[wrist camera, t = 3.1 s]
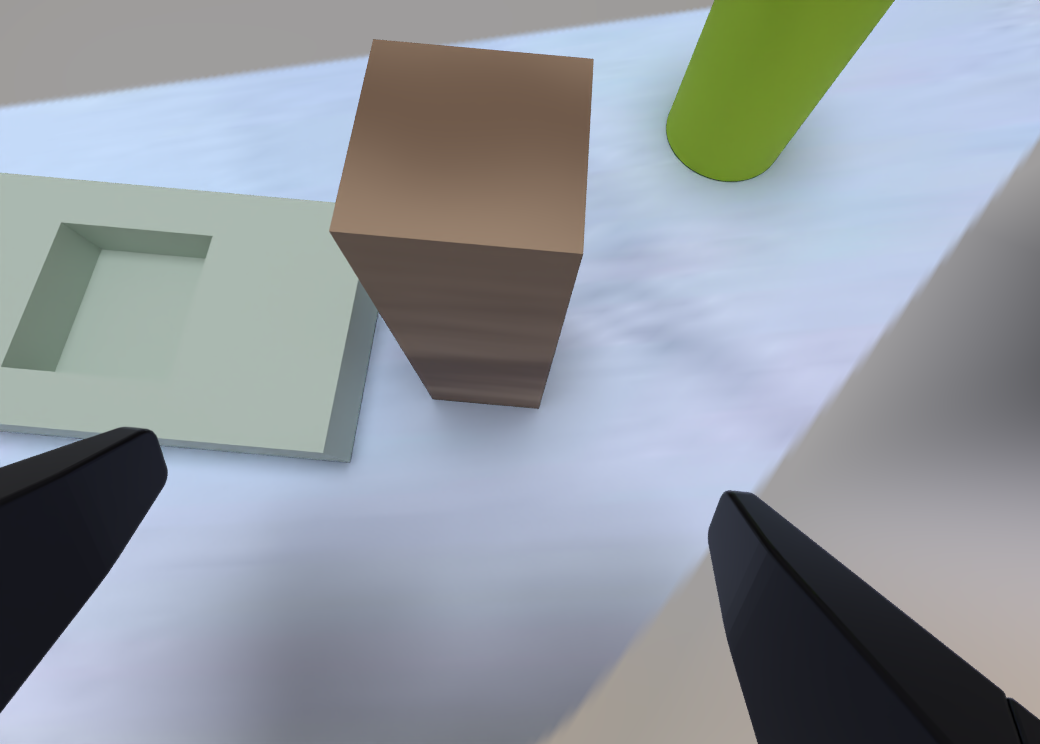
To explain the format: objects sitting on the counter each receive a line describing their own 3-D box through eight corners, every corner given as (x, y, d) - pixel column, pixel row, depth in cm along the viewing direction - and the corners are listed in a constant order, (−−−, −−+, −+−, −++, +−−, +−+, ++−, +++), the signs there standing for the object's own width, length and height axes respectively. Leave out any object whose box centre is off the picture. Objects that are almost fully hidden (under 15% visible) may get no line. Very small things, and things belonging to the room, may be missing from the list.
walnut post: (538, 408, 21) (582, 254, 9) (433, 399, 21) (328, 231, 9) (546, 311, 22) (593, 58, 10) (446, 302, 22) (373, 39, 10)
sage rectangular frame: (390, 245, 23) (373, 206, 20) (349, 462, 20) (323, 452, 17) (5, 211, 23) (-69, 166, 20) (-93, 422, 20) (-196, 406, 17)
